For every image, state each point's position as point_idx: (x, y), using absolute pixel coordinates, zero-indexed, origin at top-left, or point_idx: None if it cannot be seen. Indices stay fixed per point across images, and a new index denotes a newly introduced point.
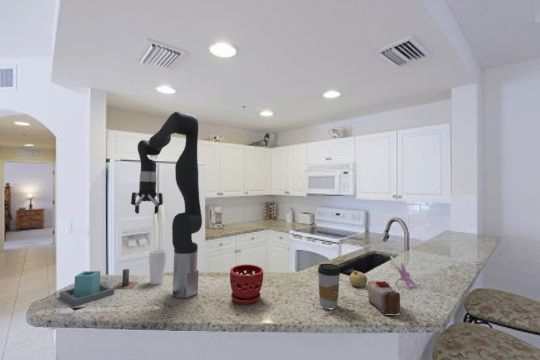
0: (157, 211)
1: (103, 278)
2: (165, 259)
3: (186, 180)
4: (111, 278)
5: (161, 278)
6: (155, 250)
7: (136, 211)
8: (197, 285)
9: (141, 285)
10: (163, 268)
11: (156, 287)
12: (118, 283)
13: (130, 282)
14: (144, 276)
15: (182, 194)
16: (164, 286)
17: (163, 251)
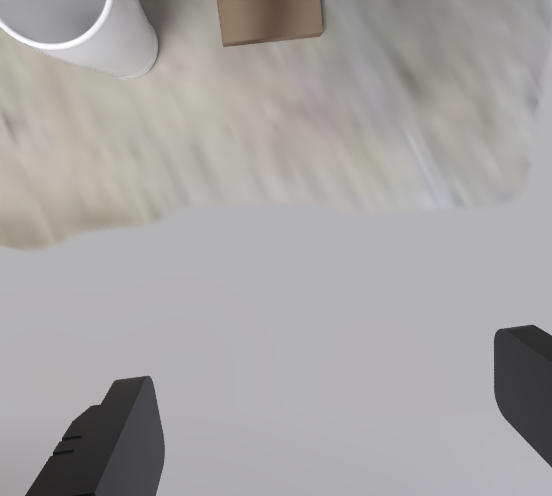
0: (72, 423)
1: (452, 148)
2: (11, 4)
3: None
4: (412, 150)
5: (77, 16)
6: (91, 28)
7: (546, 339)
8: None
9: (207, 46)
10: (44, 4)
11: None
12: (317, 11)
13: (261, 29)
14: (257, 190)
15: None
16: None
17: (25, 37)
